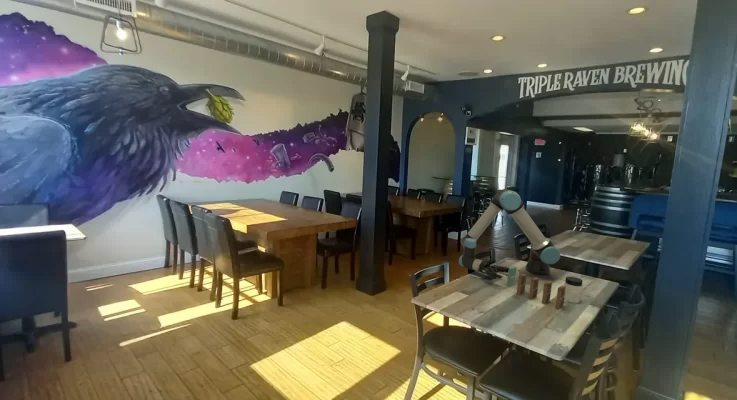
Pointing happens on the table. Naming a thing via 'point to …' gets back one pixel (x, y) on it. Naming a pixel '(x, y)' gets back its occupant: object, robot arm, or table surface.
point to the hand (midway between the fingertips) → (513, 276)
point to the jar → (573, 289)
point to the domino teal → (511, 276)
